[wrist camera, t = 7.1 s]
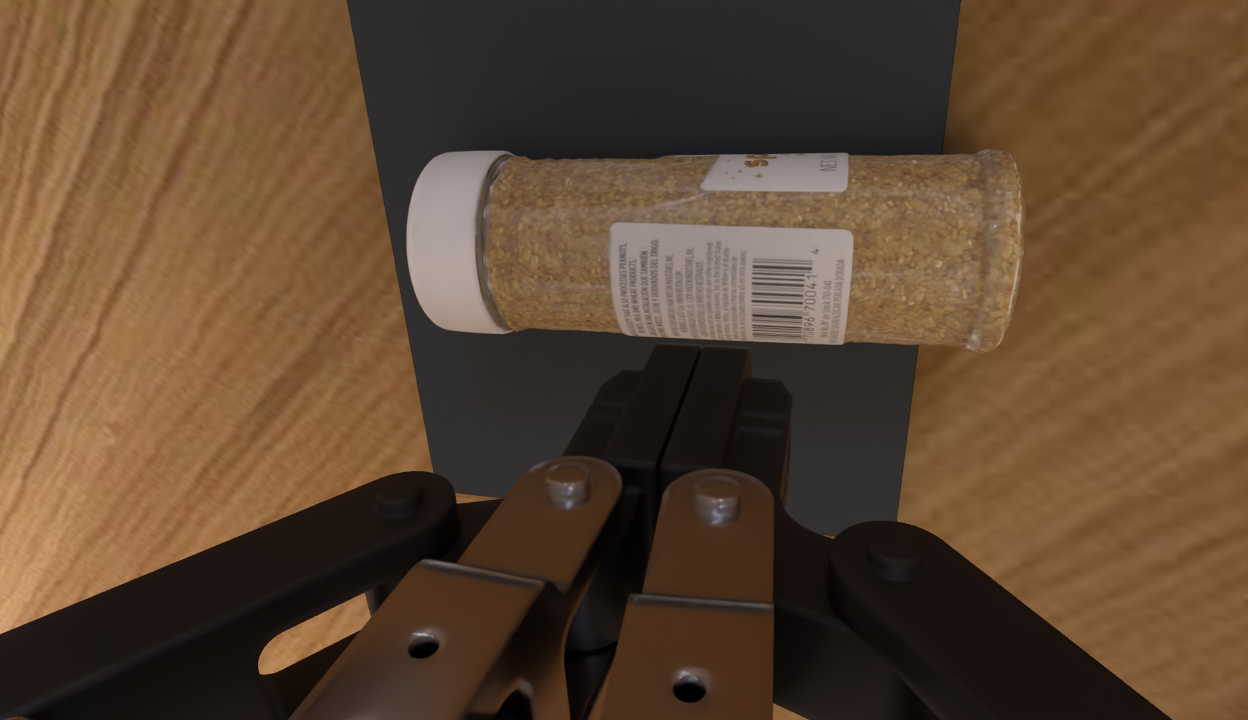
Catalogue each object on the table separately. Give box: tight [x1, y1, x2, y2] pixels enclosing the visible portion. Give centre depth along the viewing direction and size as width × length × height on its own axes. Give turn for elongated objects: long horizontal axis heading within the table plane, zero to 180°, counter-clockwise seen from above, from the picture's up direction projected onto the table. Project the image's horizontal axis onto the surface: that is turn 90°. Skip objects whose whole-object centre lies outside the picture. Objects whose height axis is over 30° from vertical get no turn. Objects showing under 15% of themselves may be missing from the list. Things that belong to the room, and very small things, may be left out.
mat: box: [347, 0, 961, 536], centre depth 22 cm, size 20×15×1 cm
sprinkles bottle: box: [407, 148, 1026, 354], centre depth 20 cm, size 5×5×14 cm
